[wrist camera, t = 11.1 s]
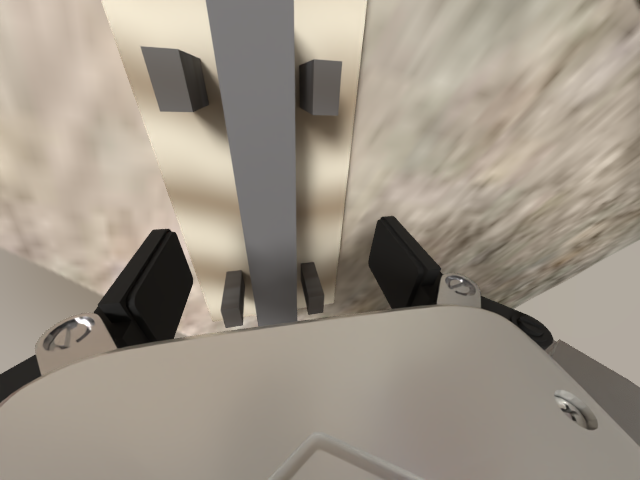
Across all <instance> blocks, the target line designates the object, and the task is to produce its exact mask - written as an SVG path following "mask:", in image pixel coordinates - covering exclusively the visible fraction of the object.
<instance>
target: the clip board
mask: <svg viewBox="0 0 640 480" xmlns="http://www.w3.org/2000/svg"><path fill="white" fill-rule="evenodd" d="M101 1H102V4H103V7H104V10H105V13H106V16H107V19H108V22H109V24H110V27H111V30H112V33H113V36H114V39H115V42H116V45H117V48H118V50H119V53H120V56H121V59H122V62H123V65H124V68H125V71H126V73H127V76H128V79H129V82H130V85H131V88H132V91H133V94H134V97H135V99H136V102H137V105H138V108H139V111H140V114H141V117H142V120H143V122H144V125H145V128H146V131H147V134H148V137H149V140H150V143H151V145H152V148H153V151H154V154H155V157H156V160H157V163H158V166H159V169H160V171H161V174H162V177H163V180H164V183H165V186H166V189H167V192H168V194H169V197H170V200H171V203H172V206H173V209H174V212H175V215H176V217H177V220H178V223H179V226H180V229H181V232H182V235H183V238H184V241H185V243H186V246H187V249H188V252H189V255H190V258H191V261H192V264H193V266H194V269H195V272H196V275H197V278H198V281H199V284H200V287H201V289H202V292H203V295H204V298H205V301H206V304H207V307H208V310H209V313H210V315H211V318H212V321H213V322H215V321H221V320H224V324H225V327H226V328H229V327H235V326H241V325H243V317H247V316H254V315H257V314H256V308H255V302H254V296H253V290H252V284H251V277H250V271H249V265H248V259H247V253H246V247H245V240H244V234H243V228H242V222H241V216H240V210H239V203H238V197H237V191H236V185H235V179H234V172H233V166H232V160H231V154H230V148H229V142H228V135H227V129H226V123H225V117H224V111H223V105H222V98H221V92H220V86H219V80H218V74H217V68H216V61H215V55H214V49H213V43H212V37H211V31H210V24H209V18H208V12H207V6H206V0H101ZM366 6H367V0H294V55H295V152H296V250H297V309H300V308H306V307H307V310H308V315H310V314H317V313H323V308H324V305H326V304H333V303H334V295H335V286H336V277H337V268H338V259H339V250H340V241H341V232H342V223H343V214H344V205H345V196H346V187H347V178H348V169H349V160H350V151H351V142H352V133H353V124H354V115H355V106H356V97H357V88H358V79H359V70H360V61H361V52H362V43H363V34H364V25H365V15H366Z"/></svg>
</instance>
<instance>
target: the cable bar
mask: <svg viewBox="0 0 640 480" xmlns="http://www.w3.org/2000/svg"><path fill="white" fill-rule="evenodd" d="M206 6H207V12H208V18H209V24H210V31H211V37H212V43H213V49H214V55H215V61H216V68H217V74H218V80H219V86H220V92H221V98H222V105H223V111H224V117H225V123H226V129H227V135H228V142H229V148H230V154H231V160H232V166H233V172H234V179H235V185H236V191H237V197H238V203H239V210H240V216H241V222H242V228H243V234H244V240H245V247H246V253H247V259H248V265H249V271H250V277H251V284H252V290H253V296H254V302H255V308H256V314H257V321H258V327H260V326H267V325H275V324H282V323H289V322H297V250H296V152H295V55H294V0H206Z"/></svg>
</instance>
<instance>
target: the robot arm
mask: <svg viewBox="0 0 640 480" xmlns="http://www.w3.org/2000/svg"><path fill="white" fill-rule="evenodd" d="M369 267H370V269H371V271H372V273H373V275H374V277H375V278H376V280H377V282H378V284H379V286H380V288H381V290H382V291H383V293H384V295H385V297H386V299H387V301H388V303H389V304H390V306H391V308H392V309H388V310H380V311H372V312H365V313H357V314H349V315H342V316H334V317H326V318H319V319H311V320H304V321H297V322H289V323H282V324H275V325H267V326H260V327H253V328H246V329H238V330H231V331H224V332H217V333H210V334H203V335H196V336H189V337H183V338H177V339H174V336H175V333H176V331H177V328H178V325H179V322H180V319H181V316H182V313H183V311H184V308H185V305H186V302H187V299H188V296H189V293H190V291H191V288H192V285H193V277H192V274H191V271H190V269H189V266H188V263H187V261H186V258H185V255H184V253H183V250H182V248H181V245H180V242H179V240H178V237H177V234H176V233H175V232H171V230H170V229H158V230H152V231H151V233H150V234H149V236H148V237H147V238H146V240H145V241H144V242H143V244H142V245H141V246H140V248H139V249H138V251H137V252H136V253H135V255H134V256H133V257H132V259H131V260H130V261H129V263H128V264H127V266H126V267H125V268H124V270H123V271H122V272H121V274H120V275H119V276H118V278H117V279H116V281H115V282H114V283H113V285H112V286H111V287H110V289H109V290H108V291H107V293H106V294H105V296H104V297H103V298H102V300H101V301H100V302H99V304H98V307H97V309H96V310H95V311H94V313H81V314H78V315H74V316H71V317H69V318H66V319H64V320H62V321H60V322H58V323H57V324H55V325H54V326H53V327H51V328H50V329H48V330H47V331H46V332H45V333H44V334H43V335H42V336H41V337H40V338H39V340H38V341H37V343H36V345H35V353H36V355H34V356H32V357H30V358H29V359H27V360H25V361H23V362H21V363H20V364H18V365H16V366H14V367H13V368H11V369H9V370H7V371H5V372H4V373H2V374H0V480H640V387H638V386H637V385H635V384H634V383H632V382H631V381H629V380H628V379H626V378H624V377H623V376H621V375H619V374H618V373H616V372H614V371H612V370H611V369H609V368H607V367H606V366H604V365H602V364H601V363H599V362H597V361H596V360H594V359H592V358H590V357H589V356H587V355H585V354H584V353H582V352H580V351H578V350H577V349H575V348H573V347H572V346H570V345H568V344H567V343H565V342H563V341H561V340H558V341H557V342H556V341H554V340H553V337H552V335H551V333H550V331H549V330H548V329H547V328H546V327H545V326H544V325H543V324H542V323H540V322H539V321H538V320H536V319H534V318H533V317H530V316H528V315H526V314H524V313H521V312H519V311H517V310H514V309H512V308H509V307H507V306H504V305H502V304H499V303H497V302H494V301H492V300H490V299H487V298H485V297H482V296H481V292H480V289H479V287H478V286H477V284H476V283H475V282H473V281H472V280H471V279H469V278H468V277H466V276H463V275H461V274H457V273H446V274H444V275H443V274H442V273H441V272H440V270H441V268H440V267H439V266H438V264H437V263H436V262H435V261H434V260H433V259H432V258H431V257H430V256H429V255H428V253H427V252H426V251H425V250H424V249H423V248H422V247H421V246H420V245H419V244H418V242H417V241H416V240H415V239H414V238H413V237H412V236H411V235H410V234H409V232H408V231H407V230H406V229H405V228H404V227H403V226H402V225H401V224H400V223H399V221H398V220H397V219H396V218H395V217H394V216H388V217H381V219H380V220H378V221H377V224H376V229H375V234H374V238H373V243H372V247H371V252H370V256H369Z"/></svg>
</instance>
